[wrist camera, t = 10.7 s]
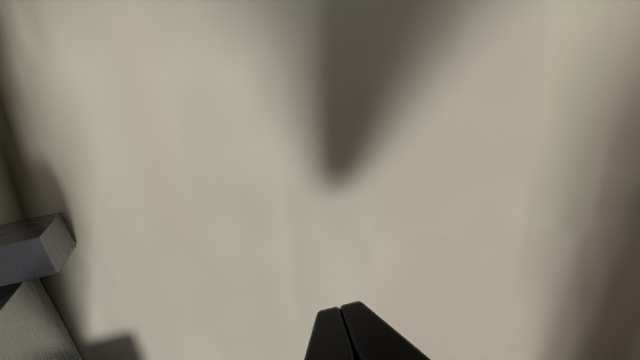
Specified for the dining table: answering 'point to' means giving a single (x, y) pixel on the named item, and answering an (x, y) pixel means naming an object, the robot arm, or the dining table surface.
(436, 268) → the dining table surface
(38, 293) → the handle
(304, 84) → the dining table surface
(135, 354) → the dining table surface
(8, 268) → the ram track
